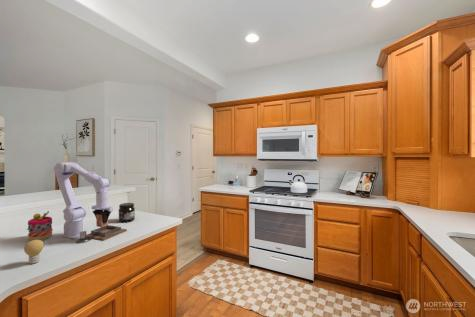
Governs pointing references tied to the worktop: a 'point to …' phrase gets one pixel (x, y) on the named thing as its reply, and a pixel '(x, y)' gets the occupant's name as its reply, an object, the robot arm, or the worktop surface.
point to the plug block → (100, 221)
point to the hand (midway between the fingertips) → (102, 222)
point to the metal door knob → (83, 237)
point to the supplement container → (126, 212)
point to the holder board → (105, 232)
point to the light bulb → (34, 250)
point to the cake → (40, 227)
